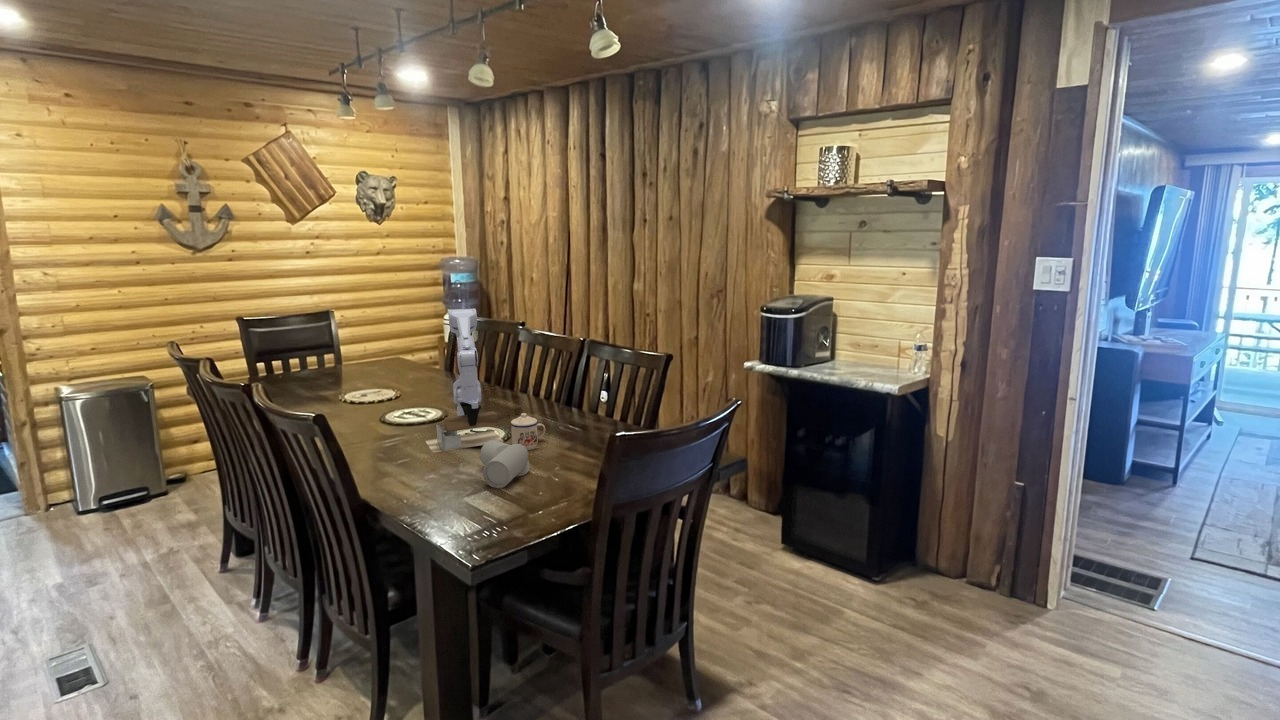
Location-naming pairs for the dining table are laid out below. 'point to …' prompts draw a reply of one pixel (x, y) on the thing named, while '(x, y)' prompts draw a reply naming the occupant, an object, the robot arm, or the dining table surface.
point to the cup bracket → (448, 439)
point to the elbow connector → (503, 462)
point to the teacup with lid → (525, 431)
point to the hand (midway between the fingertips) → (471, 423)
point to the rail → (463, 424)
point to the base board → (467, 440)
